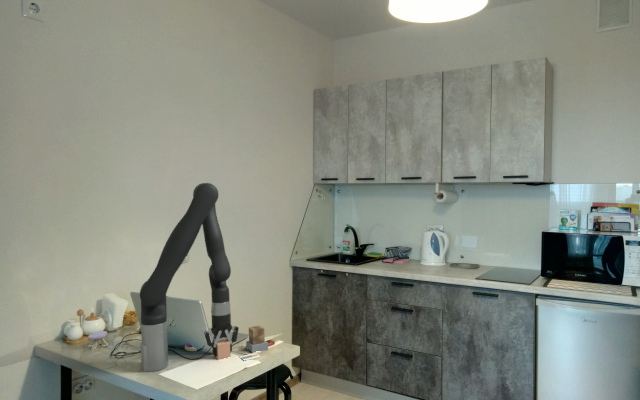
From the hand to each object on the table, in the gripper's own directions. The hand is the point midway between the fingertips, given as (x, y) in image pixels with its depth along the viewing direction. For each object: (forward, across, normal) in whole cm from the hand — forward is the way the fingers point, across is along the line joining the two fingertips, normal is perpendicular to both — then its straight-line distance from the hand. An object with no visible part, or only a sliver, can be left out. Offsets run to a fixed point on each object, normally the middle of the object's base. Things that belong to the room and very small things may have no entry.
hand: (222, 354), depth 181 cm
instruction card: (+1, +9, -7) cm, 11 cm away
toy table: (+1, -42, +44) cm, 61 cm away
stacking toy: (+1, -7, +16) cm, 18 cm away
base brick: (+1, +15, 0) cm, 15 cm away
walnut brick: (-2, +15, 0) cm, 15 cm away
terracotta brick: (+1, 0, 0) cm, 1 cm away
